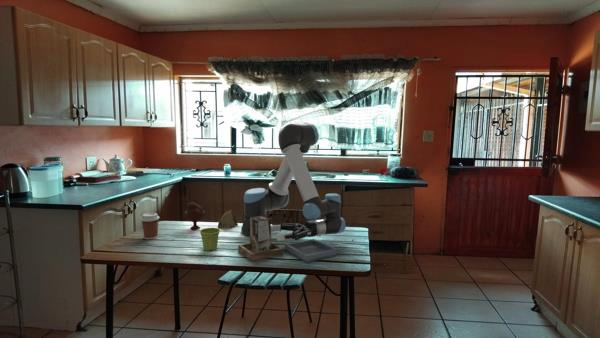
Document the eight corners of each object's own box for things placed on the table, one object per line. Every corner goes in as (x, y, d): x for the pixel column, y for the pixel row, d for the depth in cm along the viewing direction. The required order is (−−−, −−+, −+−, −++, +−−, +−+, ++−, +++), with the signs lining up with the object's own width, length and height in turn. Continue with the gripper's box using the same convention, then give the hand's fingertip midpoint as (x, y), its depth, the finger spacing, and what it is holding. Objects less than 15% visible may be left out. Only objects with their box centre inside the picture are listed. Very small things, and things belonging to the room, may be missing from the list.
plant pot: (224, 246, 171) (224, 228, 170) (213, 253, 162) (213, 234, 161) (207, 244, 174) (207, 226, 173) (195, 250, 165) (195, 232, 164)
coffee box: (271, 255, 160) (271, 219, 158) (258, 257, 157) (257, 221, 155) (262, 249, 168) (262, 215, 166) (249, 251, 164) (249, 216, 163)
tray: (285, 250, 166) (285, 244, 165) (313, 244, 174) (313, 238, 174) (306, 263, 151) (306, 256, 150) (336, 255, 159) (337, 249, 159)
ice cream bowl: (199, 231, 195) (199, 204, 193) (181, 230, 197) (180, 203, 195) (208, 226, 205) (208, 200, 203) (190, 225, 207) (189, 199, 206)
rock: (213, 224, 201) (228, 223, 198) (216, 210, 206) (231, 209, 202) (222, 231, 210) (237, 231, 207) (225, 218, 214) (240, 217, 211)
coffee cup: (139, 236, 186) (138, 213, 184) (157, 233, 191) (156, 211, 190) (143, 241, 178) (142, 217, 177) (162, 237, 184) (161, 214, 183)
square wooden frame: (238, 251, 164) (238, 244, 164) (267, 245, 172) (267, 239, 172) (252, 261, 152) (252, 254, 152) (283, 255, 160) (283, 248, 160)
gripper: (326, 243, 160) (281, 249, 151) (303, 229, 183) (263, 233, 174) (326, 227, 159) (281, 232, 151) (303, 214, 182) (263, 218, 173)
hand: (271, 233), depth 162 cm, fingers open, 13 cm apart
